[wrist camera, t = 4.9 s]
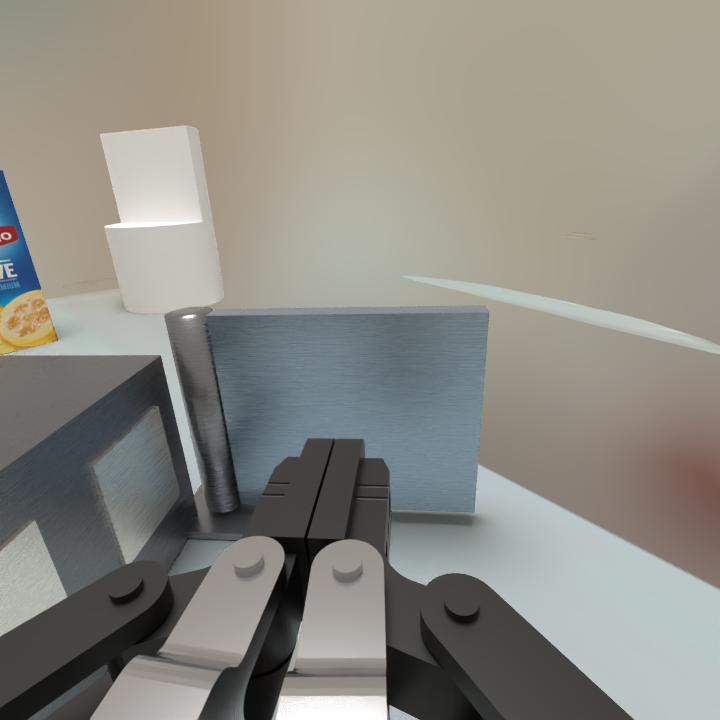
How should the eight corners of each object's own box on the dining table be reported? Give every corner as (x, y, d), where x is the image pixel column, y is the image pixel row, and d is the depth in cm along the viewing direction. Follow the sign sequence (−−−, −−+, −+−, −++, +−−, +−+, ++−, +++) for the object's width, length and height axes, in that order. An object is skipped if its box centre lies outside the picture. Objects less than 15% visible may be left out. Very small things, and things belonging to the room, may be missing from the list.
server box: (80, 952, 12) (-102, 699, 8) (-343, 885, 13) (-693, 643, 9) (277, 485, 30) (256, 332, 25) (87, 479, 31) (38, 334, 27)
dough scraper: (199, 512, 26) (155, 319, 22) (215, 486, 29) (178, 306, 24) (475, 522, 25) (491, 316, 20) (469, 494, 27) (483, 302, 22)
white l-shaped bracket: (170, 288, 90) (138, 137, 79) (243, 291, 85) (219, 130, 74) (101, 311, 75) (51, 129, 64) (184, 316, 70) (144, 119, 59)
